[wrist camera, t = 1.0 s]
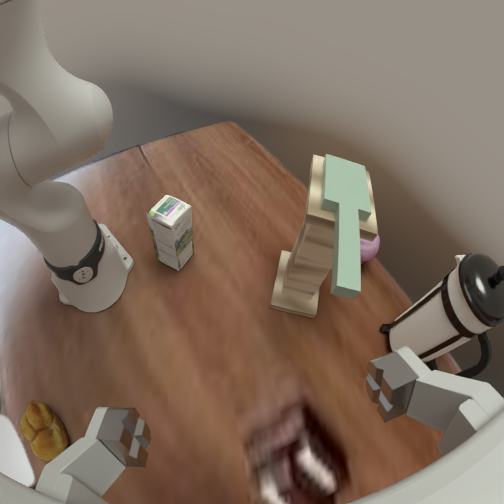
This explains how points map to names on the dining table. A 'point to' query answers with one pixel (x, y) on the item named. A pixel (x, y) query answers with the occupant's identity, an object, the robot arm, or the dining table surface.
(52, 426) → the bread roll
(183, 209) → the syrup box
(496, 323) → the coffee press
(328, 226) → the stand
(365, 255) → the cupcake
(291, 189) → the dining table surface
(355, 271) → the spatula
